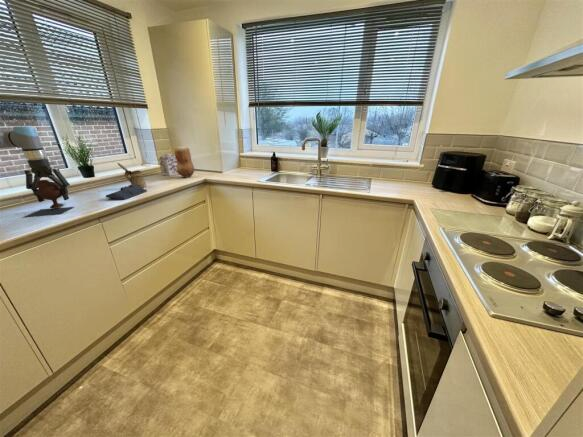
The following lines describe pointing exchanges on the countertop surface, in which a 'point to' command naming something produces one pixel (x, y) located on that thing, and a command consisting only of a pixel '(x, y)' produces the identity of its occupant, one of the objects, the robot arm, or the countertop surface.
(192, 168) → the butternut squash
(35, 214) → the placemat
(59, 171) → the robot arm
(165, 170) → the decorative jar
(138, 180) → the tan handled pot
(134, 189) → the dark slate chunk
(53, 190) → the ice cream bowl
